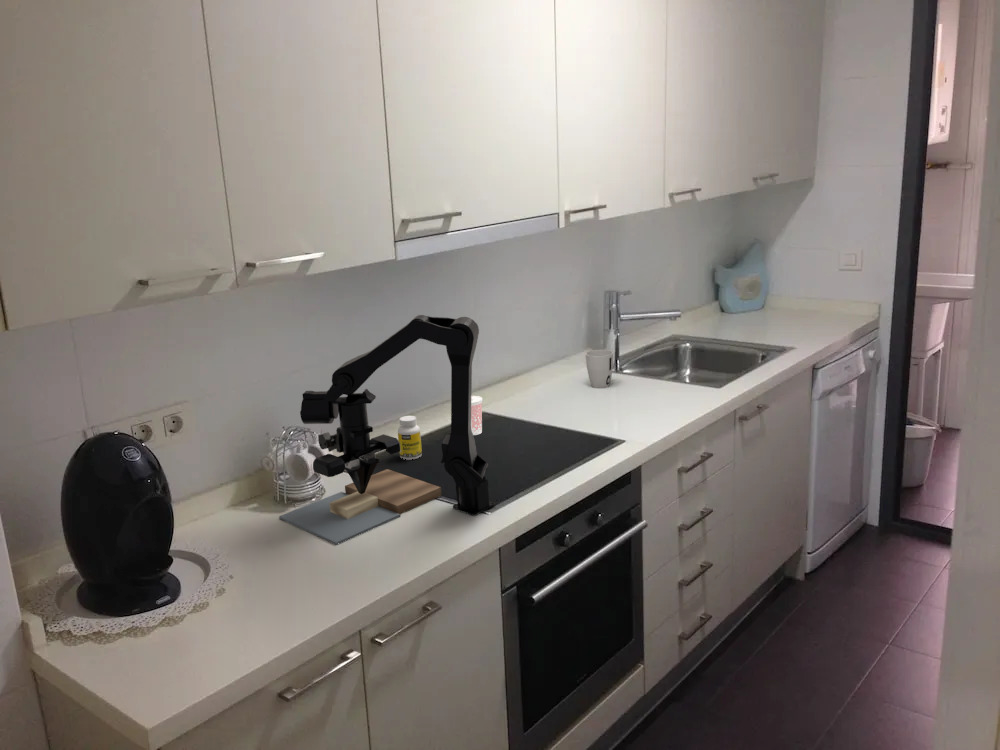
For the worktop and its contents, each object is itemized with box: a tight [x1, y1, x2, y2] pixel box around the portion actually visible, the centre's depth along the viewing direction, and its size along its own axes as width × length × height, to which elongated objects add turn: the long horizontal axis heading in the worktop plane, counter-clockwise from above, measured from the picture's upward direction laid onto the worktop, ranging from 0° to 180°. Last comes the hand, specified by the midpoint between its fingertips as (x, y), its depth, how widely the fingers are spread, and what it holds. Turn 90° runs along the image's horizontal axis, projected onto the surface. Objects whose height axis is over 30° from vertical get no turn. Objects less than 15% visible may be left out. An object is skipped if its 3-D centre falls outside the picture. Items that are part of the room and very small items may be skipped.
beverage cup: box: [471, 395, 483, 436], centre depth 230 cm, size 6×6×14 cm
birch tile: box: [329, 492, 379, 519], centre depth 187 cm, size 6×8×2 cm
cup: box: [585, 349, 614, 389], centre depth 264 cm, size 8×8×10 cm
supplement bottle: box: [397, 415, 423, 461], centre depth 216 cm, size 5×5×10 cm
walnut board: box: [344, 468, 442, 515], centre depth 195 cm, size 18×12×2 cm, turn 46°
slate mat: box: [278, 491, 401, 546], centre depth 185 cm, size 20×16×1 cm
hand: (361, 493), depth 189 cm, fingers closed
